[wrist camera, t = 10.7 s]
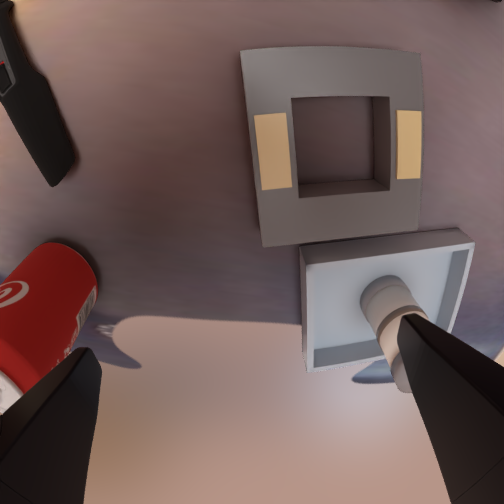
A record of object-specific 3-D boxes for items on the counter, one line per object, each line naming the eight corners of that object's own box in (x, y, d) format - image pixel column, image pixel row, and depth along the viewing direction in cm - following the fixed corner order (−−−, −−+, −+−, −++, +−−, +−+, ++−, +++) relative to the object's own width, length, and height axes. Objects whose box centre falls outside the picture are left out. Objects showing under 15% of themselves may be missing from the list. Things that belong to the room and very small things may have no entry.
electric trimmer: (58, 186, 19) (35, 202, 17) (-19, 28, 12) (-45, 27, 10) (95, 158, 19) (74, 171, 16) (14, -6, 12) (-11, -12, 9)
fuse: (409, 271, 23) (461, 341, 15) (401, 312, 24) (443, 383, 17) (361, 278, 23) (404, 357, 16) (357, 320, 24) (391, 399, 17)
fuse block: (400, 55, 16) (422, 52, 13) (401, 215, 21) (419, 231, 19) (239, 56, 16) (240, 50, 13) (259, 230, 21) (262, 249, 19)
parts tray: (457, 227, 22) (475, 242, 19) (435, 325, 26) (447, 342, 24) (299, 246, 22) (305, 264, 20) (302, 351, 26) (307, 372, 24)
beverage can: (49, 219, 20) (-53, 323, 9) (116, 269, 22) (49, 402, 11) (26, 275, 22) (-51, 377, 11) (84, 318, 24) (29, 436, 13)
